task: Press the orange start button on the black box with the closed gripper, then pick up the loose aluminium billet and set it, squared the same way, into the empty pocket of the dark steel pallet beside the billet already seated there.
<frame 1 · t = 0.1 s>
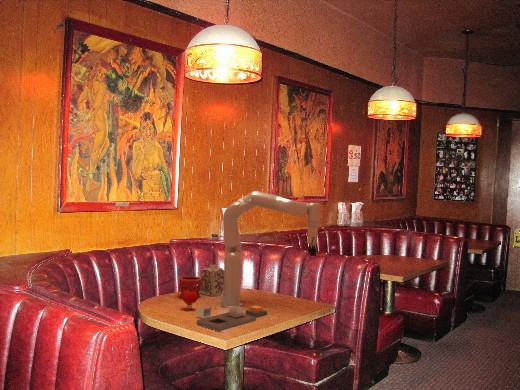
hand: (312, 254, 290), 31 cm above the table, tool pointing down, fingers open, 9 cm apart
billet: (203, 319, 263), on the table
start button: (256, 309, 272), point 4 cm above the table, slide at 0.0 cm
button housing: (256, 316, 272), on the table
light bulb: (189, 309, 281), on the table
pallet: (227, 323, 257), on the table
plant pot: (189, 297, 308), on the table
decorative jar: (212, 293, 319), on the table
seated billet: (235, 319, 261), point 1 cm above the table, touching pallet
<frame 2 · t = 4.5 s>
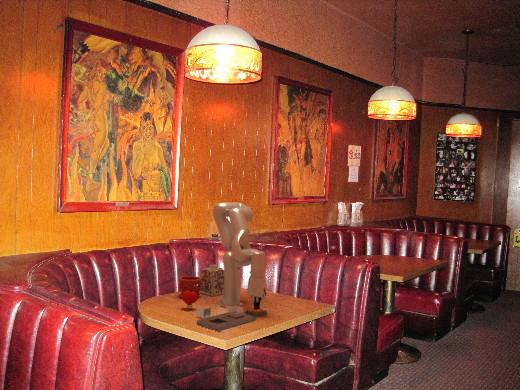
hand: (256, 308, 271), 4 cm above the table, tool pointing down, fingers closed
start button: (256, 311, 272), point 3 cm above the table, slide at 1.0 cm, touching gripper
everything else where it was.
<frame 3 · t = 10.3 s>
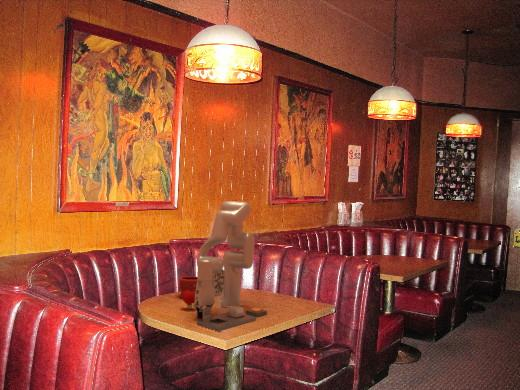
hand: (203, 317, 263), 1 cm above the table, tool pointing down, fingers closed on billet, 5 cm apart
billet: (203, 319, 263), on the table, touching gripper
start button: (256, 311, 272), point 2 cm above the table, slide at 1.3 cm
everything else where it was.
when the fingers open (4 cm above the table, at t = 16.9 s): billet drops 2 cm, resting on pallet.
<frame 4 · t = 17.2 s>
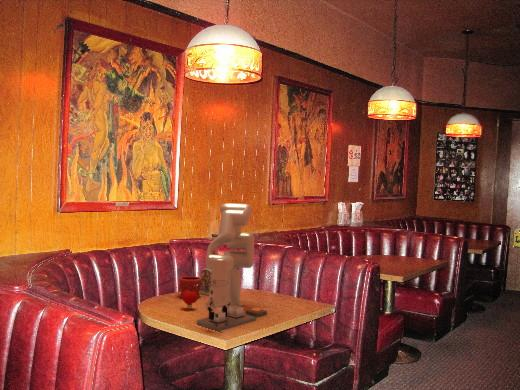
hand: (218, 317, 251), 4 cm above the table, tool pointing down, fingers open, 8 cm apart
billet: (217, 324, 252), point 1 cm above the table, touching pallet
everything else where it was.
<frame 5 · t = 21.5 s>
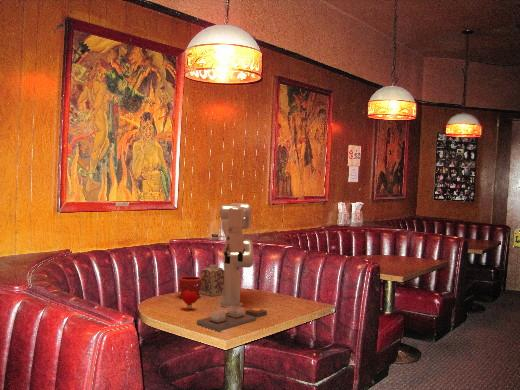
hand: (233, 262, 271), 28 cm above the table, tool pointing down, fingers open, 9 cm apart
nothing on the table moved.
at the end: start button slide at 1.3 cm; billet 0.1 cm from the target spot on the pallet, point 1.0 cm above the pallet's base; billet tilted 0° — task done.
